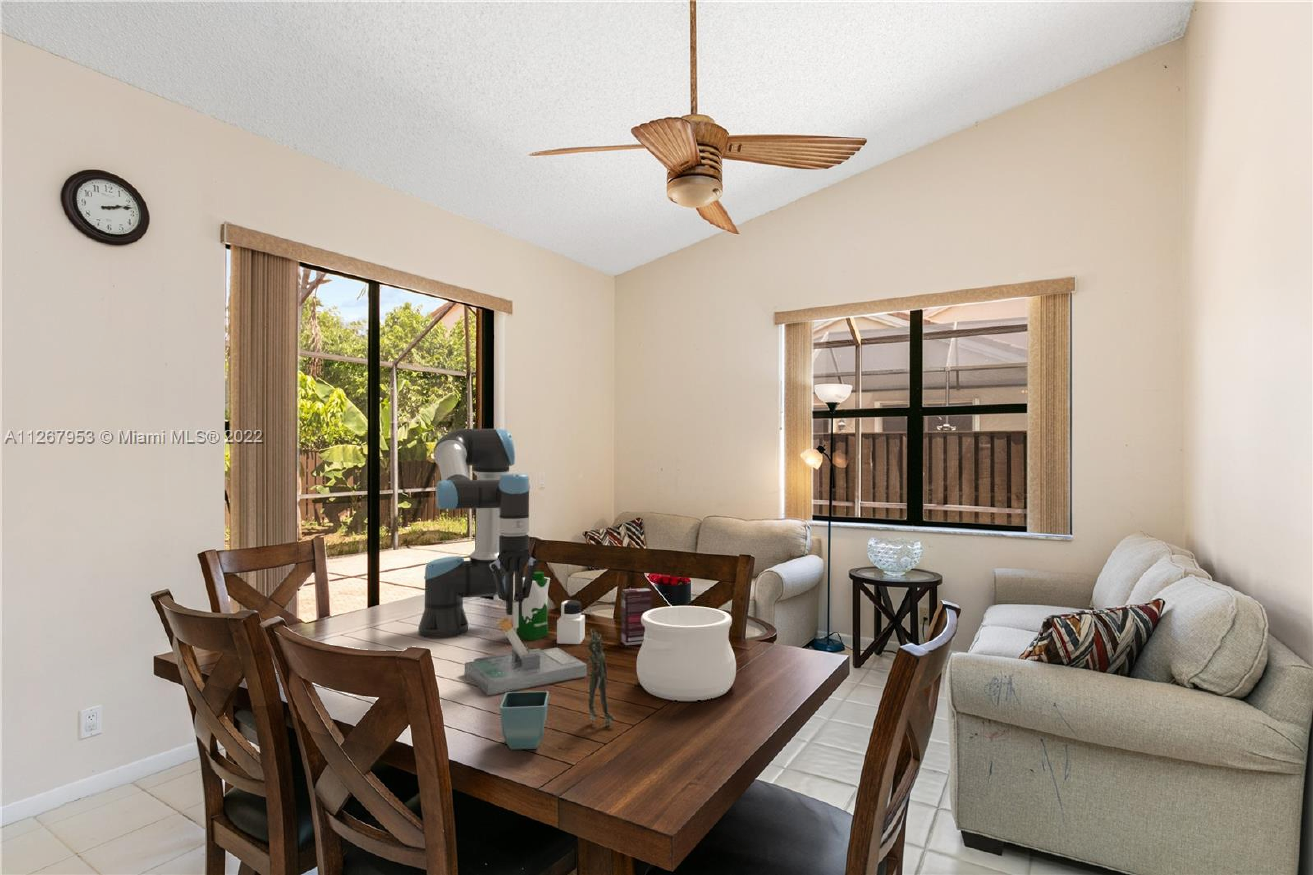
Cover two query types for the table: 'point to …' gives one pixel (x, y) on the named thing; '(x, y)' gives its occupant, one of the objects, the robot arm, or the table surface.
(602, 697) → the statue
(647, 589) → the supplement box
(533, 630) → the milk carton
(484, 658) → the cords
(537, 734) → the flower pot
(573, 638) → the medicine bottle
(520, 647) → the lever
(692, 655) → the pot
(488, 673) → the panel
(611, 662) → the table surface
